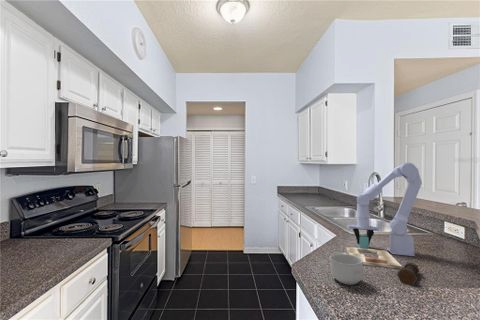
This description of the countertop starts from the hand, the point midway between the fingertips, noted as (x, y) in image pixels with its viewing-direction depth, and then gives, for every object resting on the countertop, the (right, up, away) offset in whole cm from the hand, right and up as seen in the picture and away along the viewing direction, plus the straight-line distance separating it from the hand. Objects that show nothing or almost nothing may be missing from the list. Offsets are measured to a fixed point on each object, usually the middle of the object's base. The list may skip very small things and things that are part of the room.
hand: (363, 244), depth 123 cm
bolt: (-1, 0, -35) cm, 35 cm away
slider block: (0, -2, 0) cm, 2 cm away
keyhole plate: (-4, -1, -15) cm, 16 cm away
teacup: (-25, 0, -38) cm, 45 cm away
